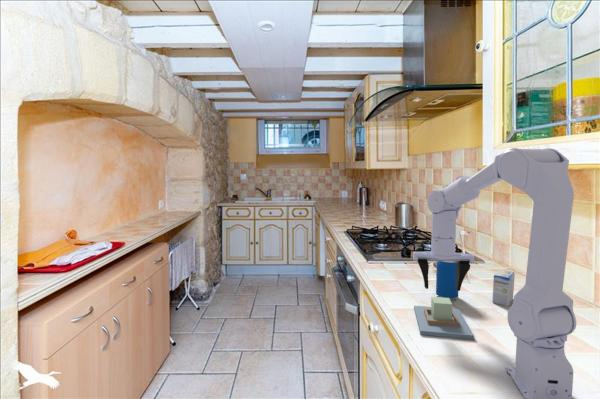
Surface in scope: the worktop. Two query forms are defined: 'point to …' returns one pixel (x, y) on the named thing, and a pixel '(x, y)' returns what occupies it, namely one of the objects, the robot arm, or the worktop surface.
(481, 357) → the worktop surface
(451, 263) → the beverage can
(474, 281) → the worktop surface
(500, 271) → the medicine box
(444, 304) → the sage block
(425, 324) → the board
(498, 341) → the worktop surface
